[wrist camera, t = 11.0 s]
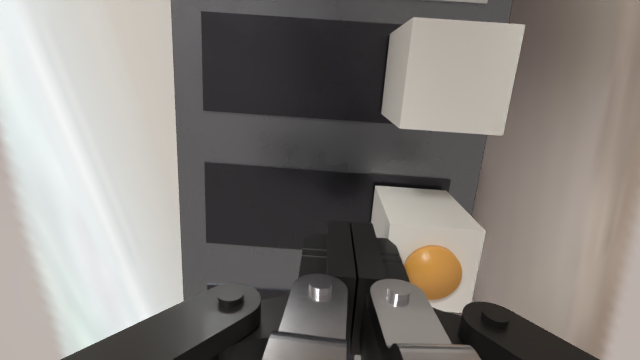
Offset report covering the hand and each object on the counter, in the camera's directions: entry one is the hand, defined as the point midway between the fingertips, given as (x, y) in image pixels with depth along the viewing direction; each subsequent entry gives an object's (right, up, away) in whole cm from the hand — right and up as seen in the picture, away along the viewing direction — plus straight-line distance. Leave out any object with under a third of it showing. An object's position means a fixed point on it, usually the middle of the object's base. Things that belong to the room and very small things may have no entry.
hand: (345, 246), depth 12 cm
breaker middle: (+3, 0, +4) cm, 5 cm away
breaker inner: (+3, +6, +2) cm, 7 cm away
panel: (-1, +1, +6) cm, 6 cm away
